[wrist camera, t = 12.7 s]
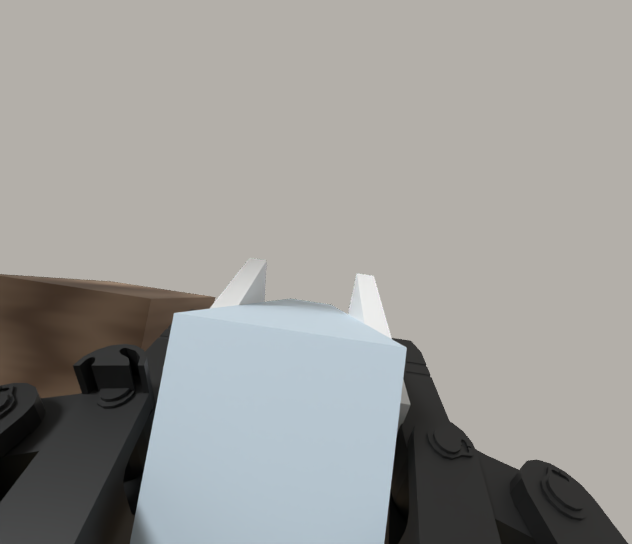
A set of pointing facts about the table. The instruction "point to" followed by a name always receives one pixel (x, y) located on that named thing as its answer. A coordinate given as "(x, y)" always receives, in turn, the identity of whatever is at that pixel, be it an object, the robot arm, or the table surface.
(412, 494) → the robot arm
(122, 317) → the walnut block
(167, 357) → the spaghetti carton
